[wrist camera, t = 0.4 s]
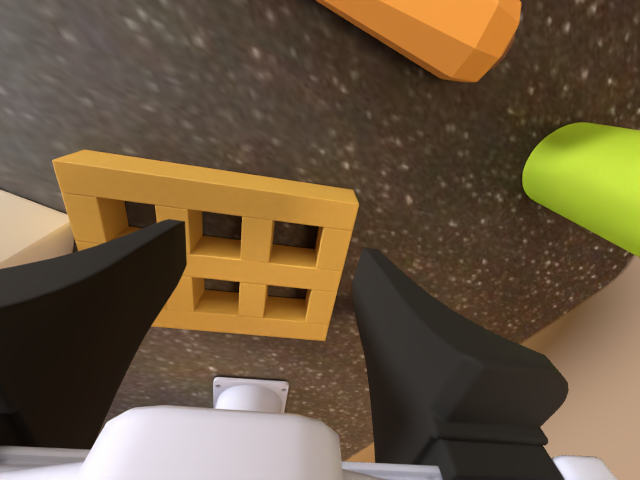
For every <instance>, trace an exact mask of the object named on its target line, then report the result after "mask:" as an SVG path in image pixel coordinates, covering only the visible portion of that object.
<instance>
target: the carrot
mask: <svg viewBox="0 0 640 480" xmlns="http://www.w3.org/2000/svg"><path fill="white" fill-rule="evenodd" d="M315 1H317V2H319V3H320V4H322V5H323V6H325V7H327V8H328V9H330V10H331V11H333V12H335V13H336V14H338V15H339V16H341V17H343V18H344V19H346V20H347V21H349V22H351V23H352V24H354V25H355V26H357V27H359V28H360V29H362V30H363V31H365V32H367V33H368V34H370V35H371V36H373V37H375V38H376V39H378V40H379V41H381V42H383V43H384V44H386V45H387V46H389V47H391V48H392V49H394V50H395V51H397V52H399V53H400V54H402V55H403V56H405V57H407V58H408V59H410V60H411V61H413V62H415V63H416V64H418V65H419V66H421V67H423V68H424V69H426V70H427V71H429V72H430V73H432V74H434V75H435V76H437V77H438V78H440V79H445V80H452V81H459V82H466V83H467V82H477V81H478V80H479V79H480V78H481V77H482V76H483V75H484V74H485V73H486V72H487V71H488V70H489V69H494V68H495V67H496V66H497V65H498V64H499V63H500V62H501V61H502V60H503V58H504V57H505V56H506V54H507V53H508V51H509V49H510V47H511V46H512V44H513V42H514V39H515V31H516V29H517V27H518V25H519V20H520V10H521V2H520V1H519V0H315Z"/></svg>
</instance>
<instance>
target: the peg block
mask: <svg viewBox="0 0 640 480" xmlns="http://www.w3.org/2000/svg"><path fill="white" fill-rule="evenodd" d="M52 161H53V165H54V169H55V172H56V176H57V179H58V183H59V186H60V190H61V192H63V193H62V196H63V200H64V203H65V207H66V211H67V214H68V218H69V221H70V225H71V228H72V232H73V235H74V239H75V240H76V245H77V249H78V251H81V250H84V249H87V248H91V247H94V246H97V245H99V244H102V243H105V242H108V241H111V240H114V239H116V238H119V237H122V236H125V235H127V234H130V233H132V232H135V231H137V230H140V229H142V228H138V227H129V224H128V218H127V213H126V207H125V201H131V202H138V203H146V204H153V205H155V209H156V217H157V223H158V222H160V221H163V220H167V219H172V220H179V221H185V231H186V256H187V265H186V268H185V270H184V272H183V275H182V277H181V279H180V281H179V283H178V285H177V287H176V289H175V290H174V292H173V293H172V295H171V296H170V298H169V299H168V301H167V303H166V304H165V306H164V307H163V309H162V310H161V312H160V313H159V315H158V316H157V318H156V319H155V321H154V322H153V324H152V325H151V326H155V327H167V328H179V329H190V330H202V331H214V332H226V333H238V334H249V335H261V336H273V337H285V338H297V339H308V340H320V341H325V338H326V334H327V331H328V327H329V323H330V319H331V315H332V311H333V307H334V303H335V299H336V295H337V290H338V286H339V282H340V278H341V274H342V271H343V267H344V263H345V259H346V255H347V251H348V247H349V243H350V239H351V235H352V230H353V227H354V223H355V219H356V215H357V211H358V207H359V203H358V201H357V198H356V196H355V193H354V191H353V190H351V189H344V188H338V187H331V186H324V185H318V184H311V183H304V182H298V181H291V180H284V179H277V178H271V177H264V176H257V175H251V174H244V173H237V172H231V171H224V170H217V169H211V168H204V167H197V166H191V165H184V164H177V163H170V162H164V161H157V160H150V159H144V158H137V157H130V156H124V155H117V154H110V153H104V152H97V151H90V150H82V151H79V152H76V153H73V154H70V155H67V156H63V157H60V158H57V159H54V160H52ZM202 211H206V212H214V213H221V214H229V215H237V216H242V234H241V240H235V239H227V238H219V237H211V236H203V225H202ZM275 221H282V222H289V223H297V224H305V225H312V226H319V229H318V234H317V240H316V245H315V249H309V248H301V247H293V246H284V245H276V244H273V236H274V227H275ZM204 278H208V279H218V280H227V281H236V282H240V287H239V293H236V292H226V291H216V290H206V289H205V284H204ZM268 285H274V286H284V287H293V288H303V289H307V294H306V299H295V298H285V297H275V296H267V295H268Z"/></svg>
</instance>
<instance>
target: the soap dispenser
mask: <svg viewBox="0 0 640 480" xmlns="http://www.w3.org/2000/svg"><path fill="white" fill-rule="evenodd" d="M522 184H523V188H524V191H525V193H526V194H527V195H528V197H530V198H531V199H532V200H534V201H535V202H537V203H539V204H541V205H543V206H545V207H547V208H548V209H550V210H552V211H554V212H556V213H558V214H560V215H562V216H563V217H565V218H567V219H569V220H571V221H573V222H575V223H576V224H578V225H580V226H582V227H584V228H586V229H588V230H589V231H591V232H593V233H595V234H597V235H599V236H601V237H603V238H604V239H606V240H608V241H610V242H612V243H614V244H616V245H617V246H619V247H621V248H623V249H625V250H627V251H629V252H630V253H632V254H634V255H636V256H638V257H640V131H639V130H632V129H626V128H619V127H613V126H607V125H600V124H594V123H587V122H579V123H573V124H569V125H566V126H564V127H561V128H559V129H557V130H556V131H554V132H552V133H551V134H549V135H548V136H547V137H546V138H544V139H543V140H542V141H541V142H540V143H539V144H538V145H537V146H536V148H535V149H534V150H533V151H532V153H531V154H530V156H529V158H528V160H527V162H526V164H525V167H524V170H523V175H522Z"/></svg>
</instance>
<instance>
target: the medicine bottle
mask: <svg viewBox="0 0 640 480" xmlns="http://www.w3.org/2000/svg"><path fill="white" fill-rule="evenodd" d="M73 246H74V235H73V232H72V228H71V225H70V221H69V218H68V215H67V214H64V213H62V212H59V211H56V210H54V209H51V208H48V207H46V206H43V205H40V204H38V203H35V202H32V201H30V200H27V199H24V198H22V197H19V196H16V195H14V194H11V193H8V192H6V191H3V190H0V269H3V268H8V267H14V266H18V265H23V264H28V263H32V262H37V261H42V260H46V259H51V258H55V257H59V256H63V255H66V254H70V253H72V252H73Z"/></svg>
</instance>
